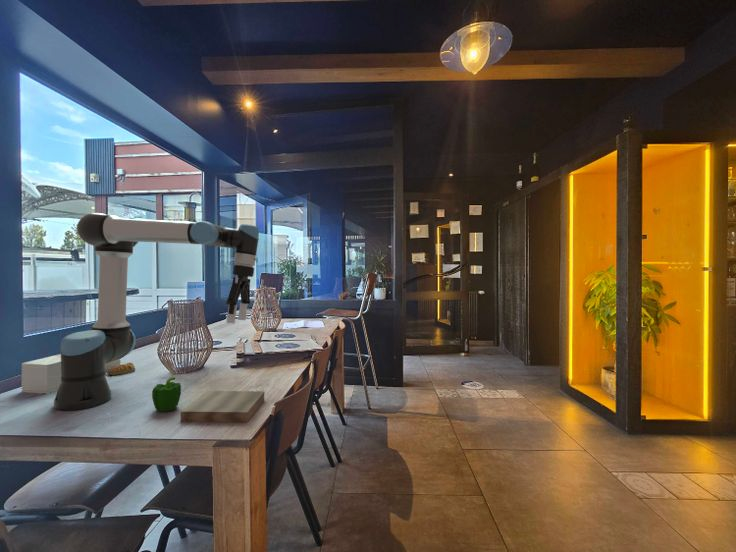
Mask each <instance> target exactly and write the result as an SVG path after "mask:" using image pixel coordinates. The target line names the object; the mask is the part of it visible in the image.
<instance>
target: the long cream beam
mask: <svg viewBox="0 0 736 552" xmlns="http://www.w3.org/2000/svg"><path fill="white" fill-rule="evenodd" d="M121 359H122V358H121ZM121 359H118V360H114V361H112V362H109V363H106V364H105V375H107V374H106V373H108V374H109V371H110V370H111V369H113V368H116V367H117V366H119V365H122V364H121ZM60 384H61V353H58V354H56V355H54V354H53V355H51V356H47V357H46V356H45V357H43V358H39V359H35V360H29V361H25V362H22V363H21V393H29V394H42V393H47V394H46V395H48V394H51V393H55V392H58V389H59V387H60ZM50 392H51V393H50Z"/></svg>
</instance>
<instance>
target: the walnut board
mask: <svg viewBox="0 0 736 552" xmlns="http://www.w3.org/2000/svg"><path fill="white" fill-rule="evenodd" d="M264 401H265V391H259V390H258V391H247V390H242V391H241V390H238V391H237V390H206V391H205V392H204V393H202V394H201V395H200V396H199V397H198V398H196V399H194V400H193V401H192V402H191V403H190V404H189V405H187V406H186V407H184V408H183V409H182V410H180V414H179V415H180V417H179V419H180V422H193V421H195V423H196V422H198V421H200V422H199V423H201V422H202V423H203V421H205V422H204V423H206V422H209V423H210V422H212V423H213V422H214V423H248V422H249V420H251V418H252V416H253V415H254V414H255V413H256V411H257V410H258V409H259V408H260V406H261V405H262V403H264Z"/></svg>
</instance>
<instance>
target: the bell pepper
mask: <svg viewBox="0 0 736 552" xmlns="http://www.w3.org/2000/svg"><path fill="white" fill-rule="evenodd" d="M174 380H176V376H172V377H169V378H168V379H167V380H166V383H165V384H162V383H159V384H156V386H154V387H153V388H152V391H151V399H152V402H153V406H154V409H155V410H156V411H158V412H165V413H166V412H171V411H173V410H175V409H176V408H177V407H178V405H179V402H180V398H181V394H182V393H181V392H182V385H181V383H180V382H174Z"/></svg>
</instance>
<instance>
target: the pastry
mask: <svg viewBox="0 0 736 552" xmlns="http://www.w3.org/2000/svg"><path fill="white" fill-rule="evenodd" d="M135 371H136V368H135V365H134V363H133V362H129V363H128V362H127V363H122V364H121V365H119V366H117V367H116V368H113V369H111V370H110V371H109V373H108V375H110V376H121V375H126V374H130V373H133V372H135ZM120 374H121V375H120Z"/></svg>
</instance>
